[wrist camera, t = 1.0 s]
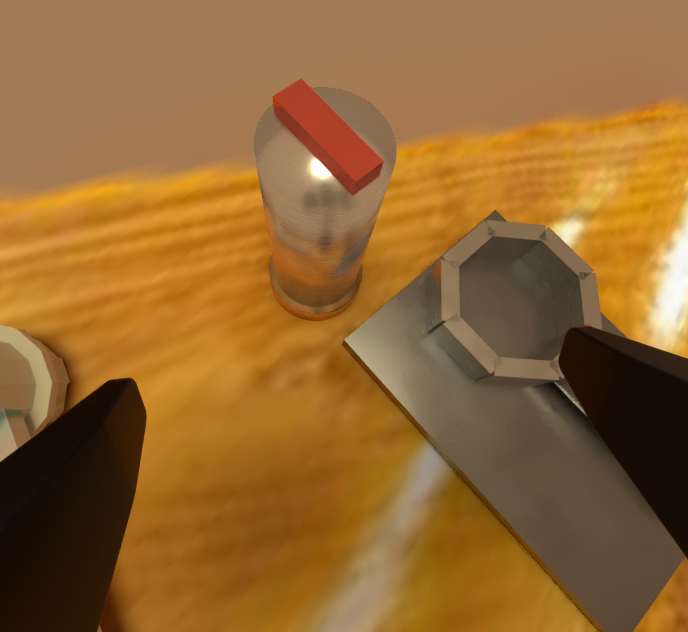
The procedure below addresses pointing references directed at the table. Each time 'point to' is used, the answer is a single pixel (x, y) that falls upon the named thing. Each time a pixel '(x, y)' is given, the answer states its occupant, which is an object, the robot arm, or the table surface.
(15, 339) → the grey long bar
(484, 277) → the metal plate with ring
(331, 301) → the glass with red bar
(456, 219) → the table surface
